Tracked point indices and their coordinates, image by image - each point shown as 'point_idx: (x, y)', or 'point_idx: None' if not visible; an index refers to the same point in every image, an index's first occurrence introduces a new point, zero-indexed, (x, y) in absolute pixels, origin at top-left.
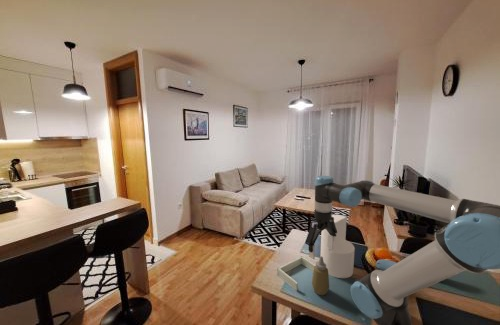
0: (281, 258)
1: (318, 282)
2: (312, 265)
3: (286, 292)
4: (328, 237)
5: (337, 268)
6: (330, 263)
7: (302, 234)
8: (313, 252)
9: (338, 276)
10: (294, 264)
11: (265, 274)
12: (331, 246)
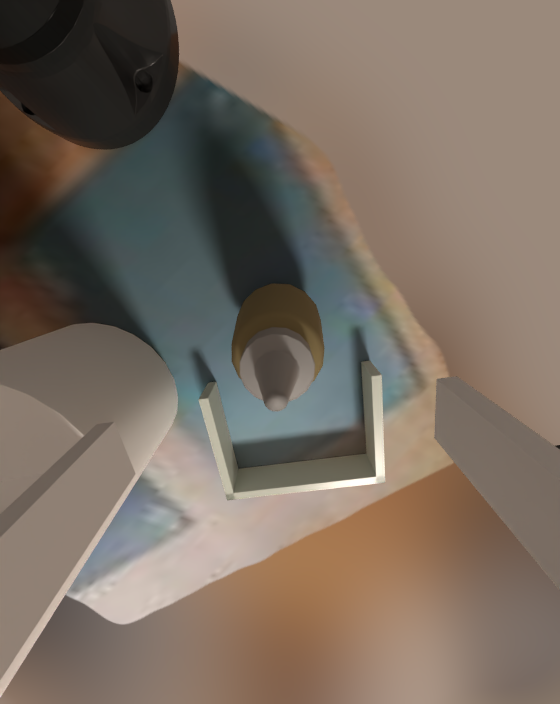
0: (294, 521)
1: (316, 313)
2: (220, 436)
3: (409, 372)
4: (32, 612)
5: (123, 362)
6: (140, 398)
7: (109, 599)
8: (526, 433)
9: (139, 343)
10: (282, 474)
11: (412, 478)
12: (98, 453)
